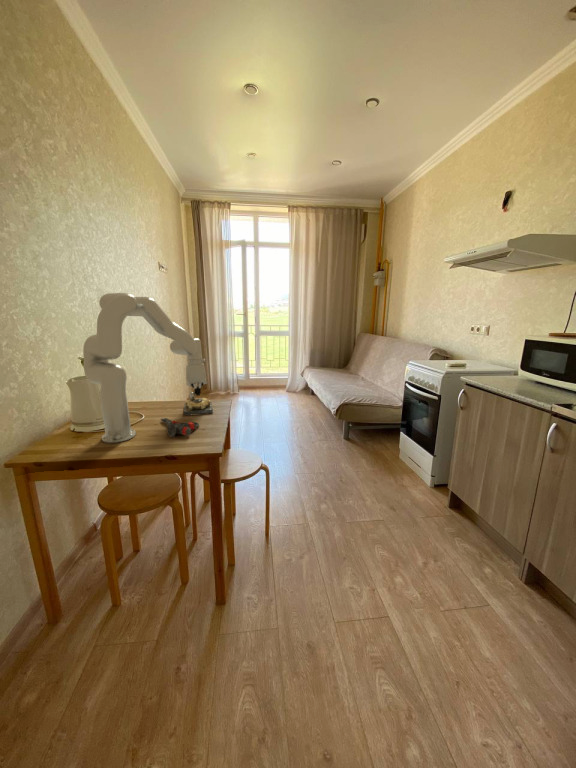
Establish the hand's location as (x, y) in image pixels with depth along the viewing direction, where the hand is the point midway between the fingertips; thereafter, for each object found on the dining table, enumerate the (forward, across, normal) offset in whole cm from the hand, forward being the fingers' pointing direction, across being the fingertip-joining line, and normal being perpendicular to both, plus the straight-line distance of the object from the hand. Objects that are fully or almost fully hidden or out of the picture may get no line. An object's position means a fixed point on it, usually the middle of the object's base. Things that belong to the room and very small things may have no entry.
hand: (197, 394), depth 165 cm
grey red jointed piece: (+7, +13, +26) cm, 30 cm away
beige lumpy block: (+5, +1, +5) cm, 7 cm away
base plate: (+7, +1, +5) cm, 8 cm away
